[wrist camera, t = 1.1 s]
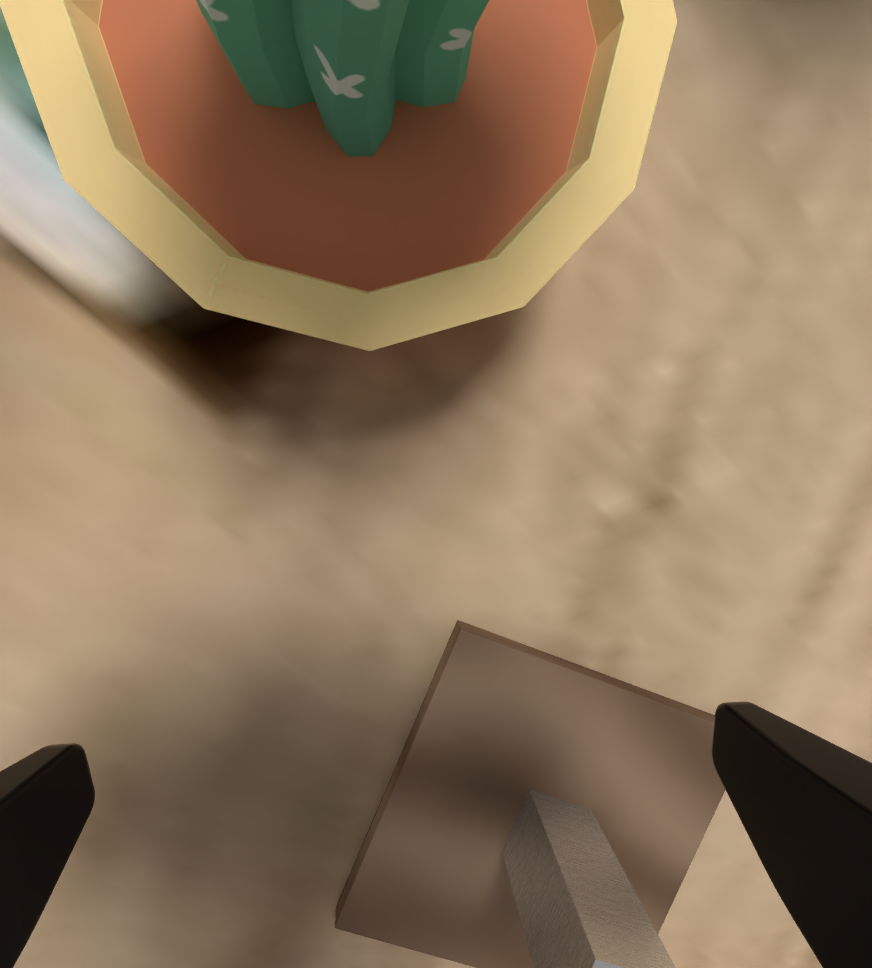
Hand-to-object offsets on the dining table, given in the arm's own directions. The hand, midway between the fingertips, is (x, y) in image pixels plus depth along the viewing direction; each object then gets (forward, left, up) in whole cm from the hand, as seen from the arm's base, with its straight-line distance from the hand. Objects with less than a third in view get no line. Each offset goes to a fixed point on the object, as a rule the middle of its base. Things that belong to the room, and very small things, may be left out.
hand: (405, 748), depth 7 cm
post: (-9, -11, -13) cm, 19 cm away
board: (-9, -11, -14) cm, 20 cm away
